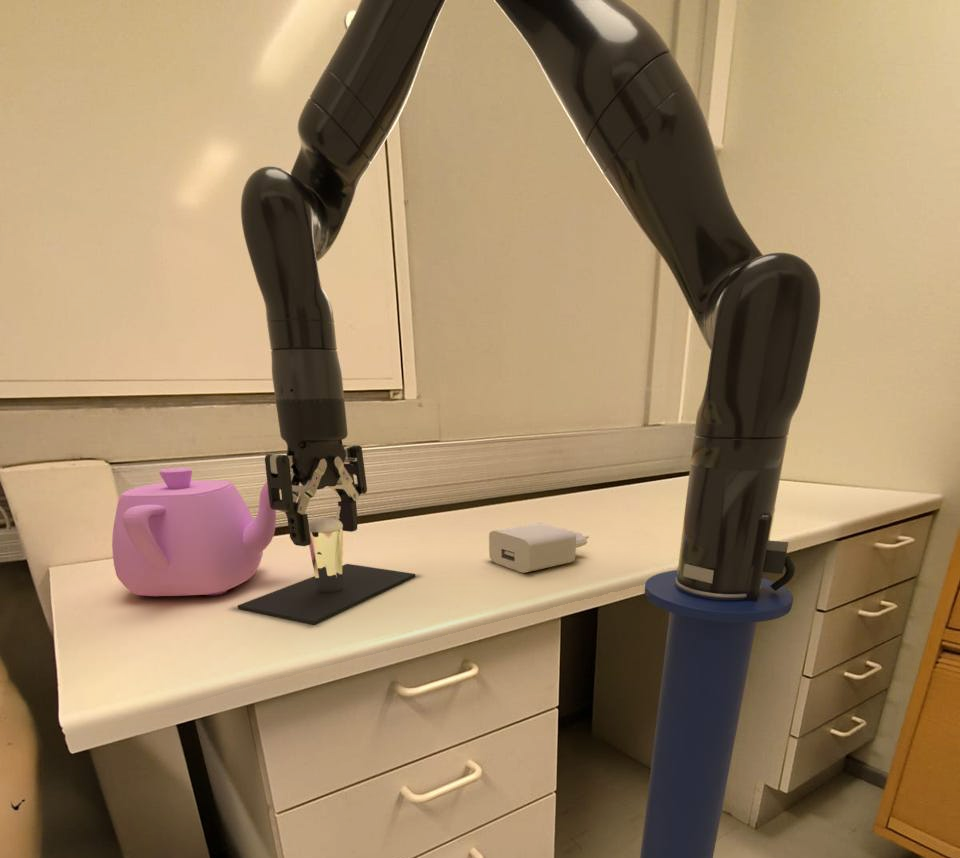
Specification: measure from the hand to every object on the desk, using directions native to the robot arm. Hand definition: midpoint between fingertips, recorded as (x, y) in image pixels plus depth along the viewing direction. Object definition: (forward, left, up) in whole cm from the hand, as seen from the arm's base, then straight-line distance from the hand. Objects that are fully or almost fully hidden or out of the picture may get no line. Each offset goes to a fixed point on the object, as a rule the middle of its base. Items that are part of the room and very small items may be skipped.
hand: (327, 537), depth 72 cm
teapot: (+18, +5, -7) cm, 20 cm away
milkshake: (0, 0, -7) cm, 7 cm away
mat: (0, 0, -7) cm, 7 cm away
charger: (-19, -26, -7) cm, 33 cm away
